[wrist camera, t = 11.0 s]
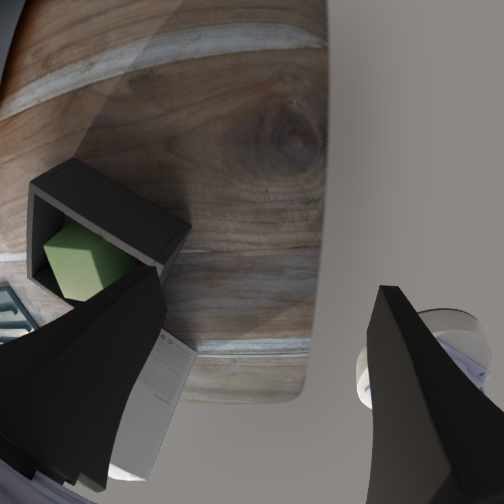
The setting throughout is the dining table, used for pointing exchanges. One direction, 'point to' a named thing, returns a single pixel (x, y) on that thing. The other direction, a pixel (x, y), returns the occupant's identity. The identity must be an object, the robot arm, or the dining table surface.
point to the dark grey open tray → (97, 222)
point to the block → (85, 261)
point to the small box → (150, 408)
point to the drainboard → (13, 317)
